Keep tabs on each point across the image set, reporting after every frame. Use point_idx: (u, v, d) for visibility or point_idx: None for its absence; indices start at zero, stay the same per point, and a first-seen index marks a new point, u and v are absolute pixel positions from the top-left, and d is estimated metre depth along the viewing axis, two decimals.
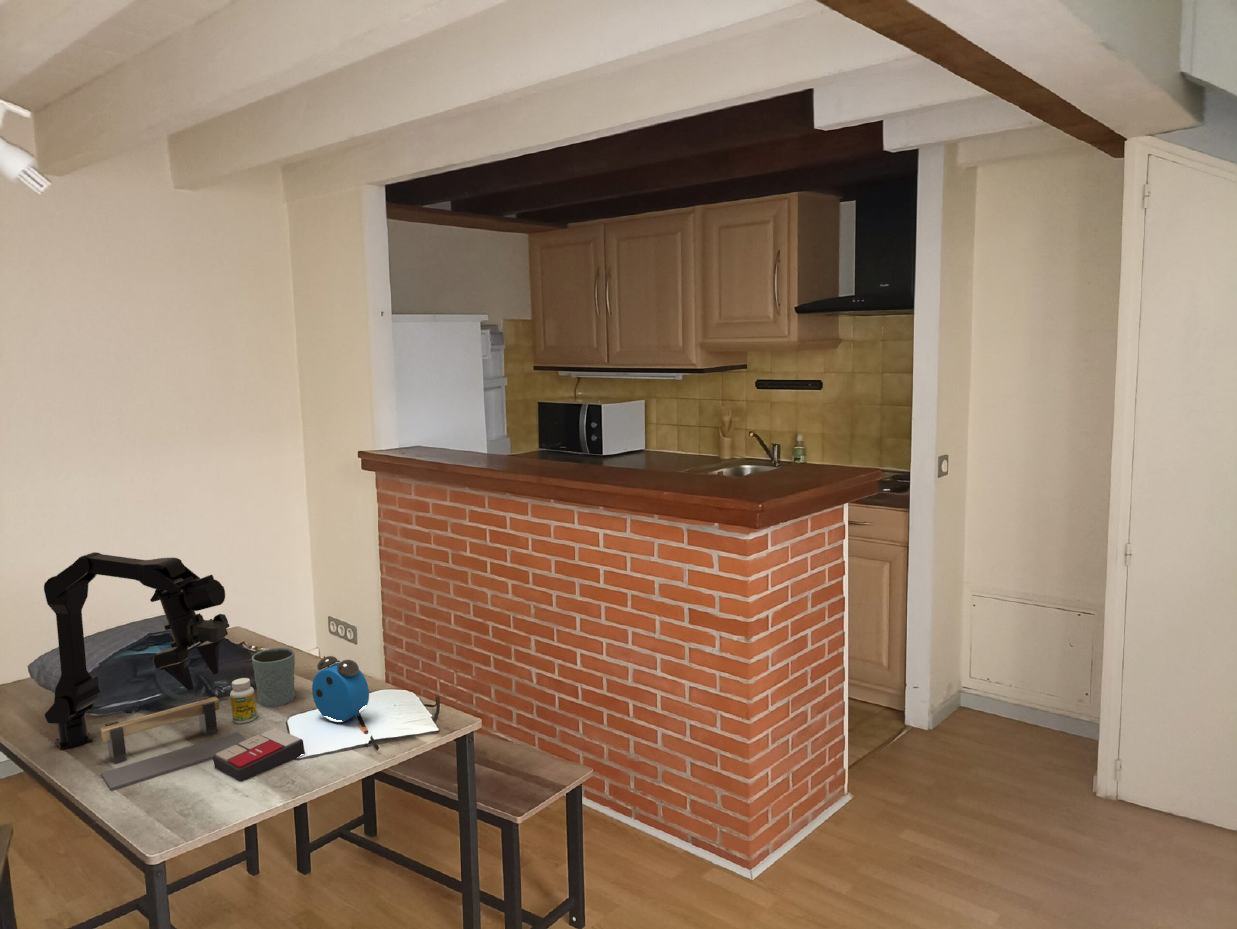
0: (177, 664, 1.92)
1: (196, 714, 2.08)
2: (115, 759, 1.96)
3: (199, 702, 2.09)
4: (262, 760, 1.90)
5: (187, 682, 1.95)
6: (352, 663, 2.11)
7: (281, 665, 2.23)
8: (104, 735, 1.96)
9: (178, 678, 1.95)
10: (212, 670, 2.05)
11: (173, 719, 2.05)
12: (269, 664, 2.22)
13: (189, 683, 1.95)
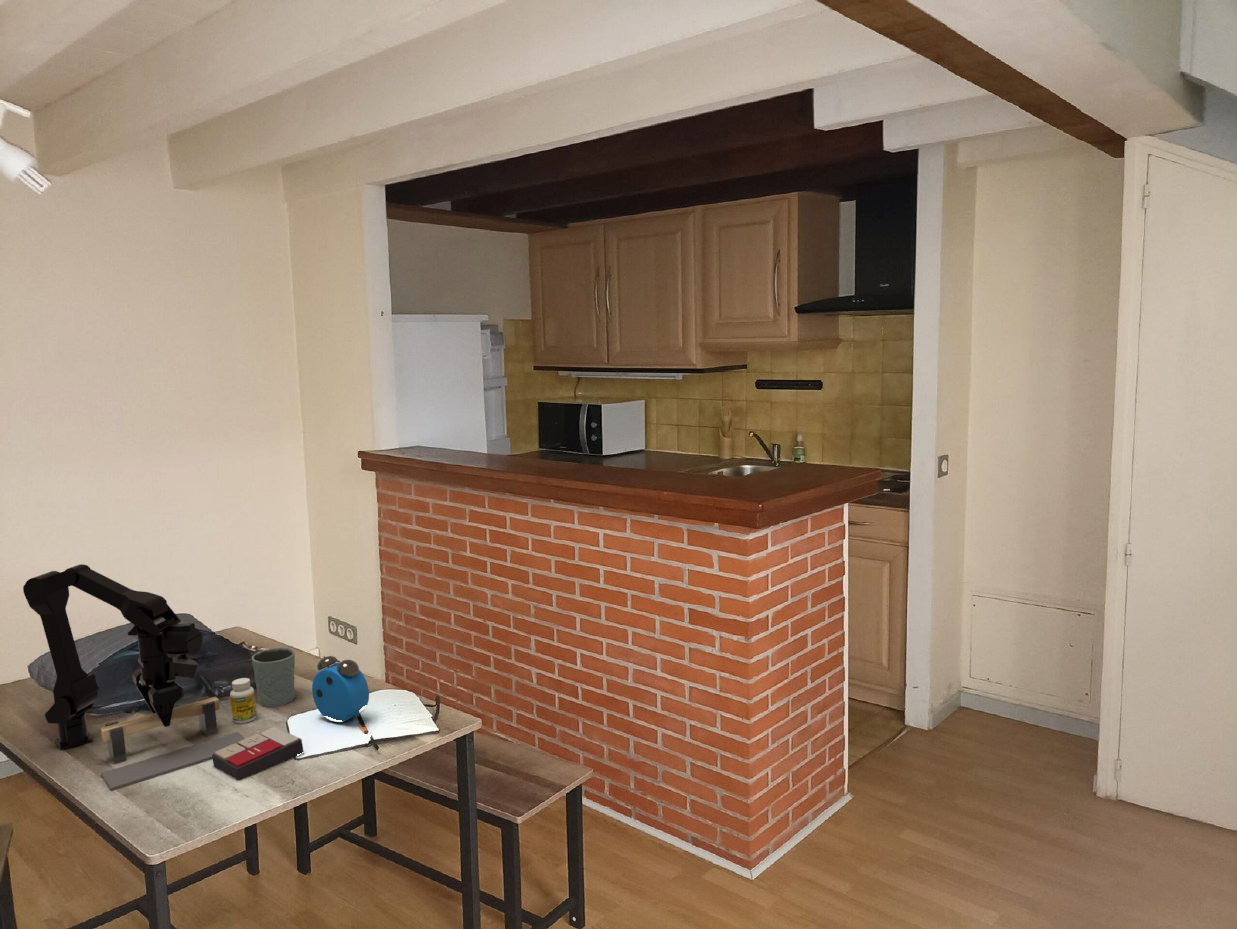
0: (176, 699, 1.98)
1: (196, 714, 2.08)
2: (115, 759, 1.96)
3: (199, 702, 2.09)
4: (260, 759, 1.90)
5: (168, 718, 2.00)
6: (352, 663, 2.11)
7: (282, 665, 2.23)
8: (104, 735, 1.96)
9: (161, 714, 1.99)
10: (153, 710, 2.07)
11: (173, 719, 2.05)
12: (270, 664, 2.22)
13: (170, 719, 2.00)
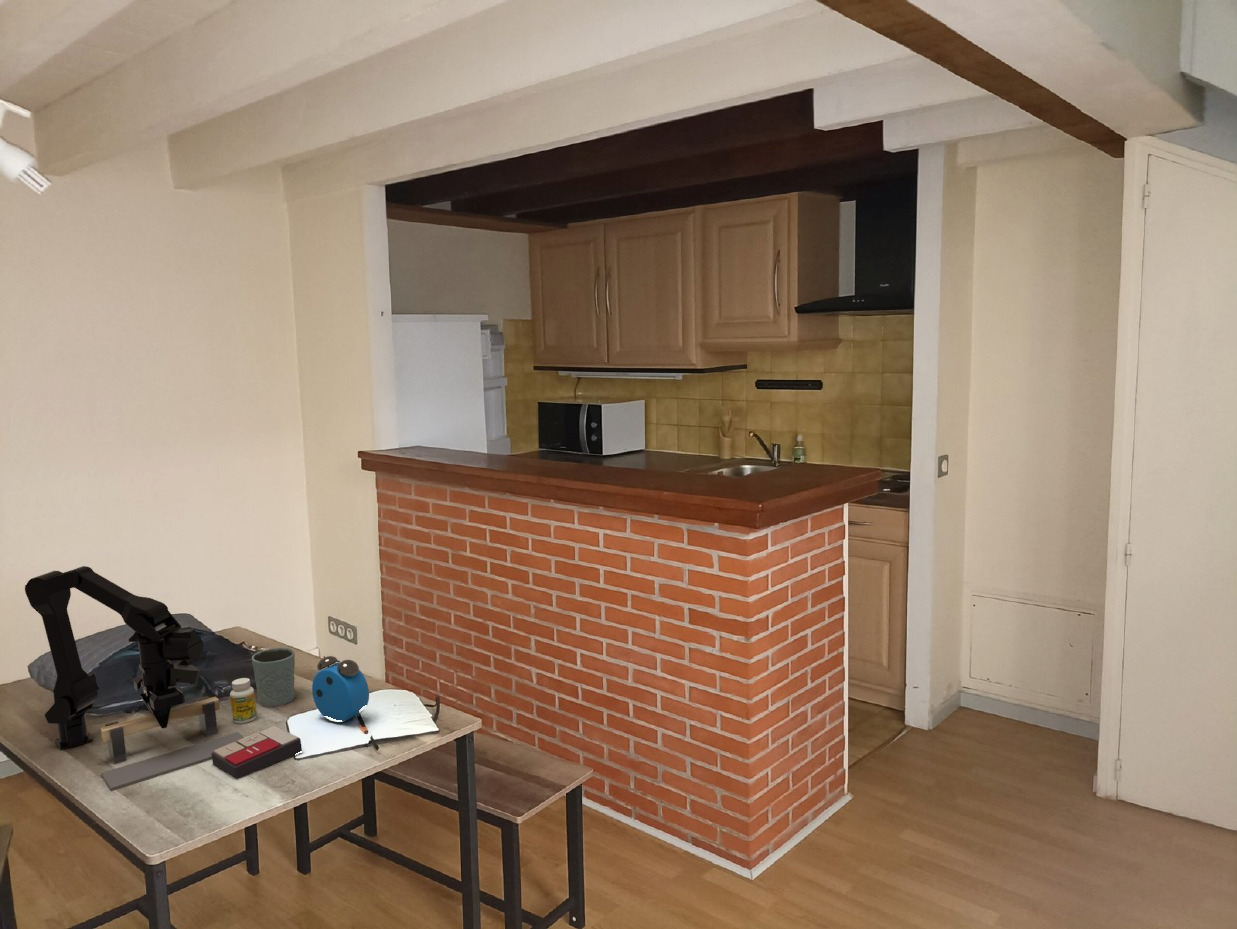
0: None
1: (196, 714, 2.08)
2: (115, 759, 1.96)
3: (199, 702, 2.09)
4: (258, 758, 1.91)
5: (165, 720, 2.03)
6: (352, 663, 2.11)
7: (282, 665, 2.23)
8: (104, 735, 1.96)
9: (158, 716, 2.01)
10: None
11: (173, 719, 2.05)
12: (270, 664, 2.22)
13: (167, 721, 2.03)
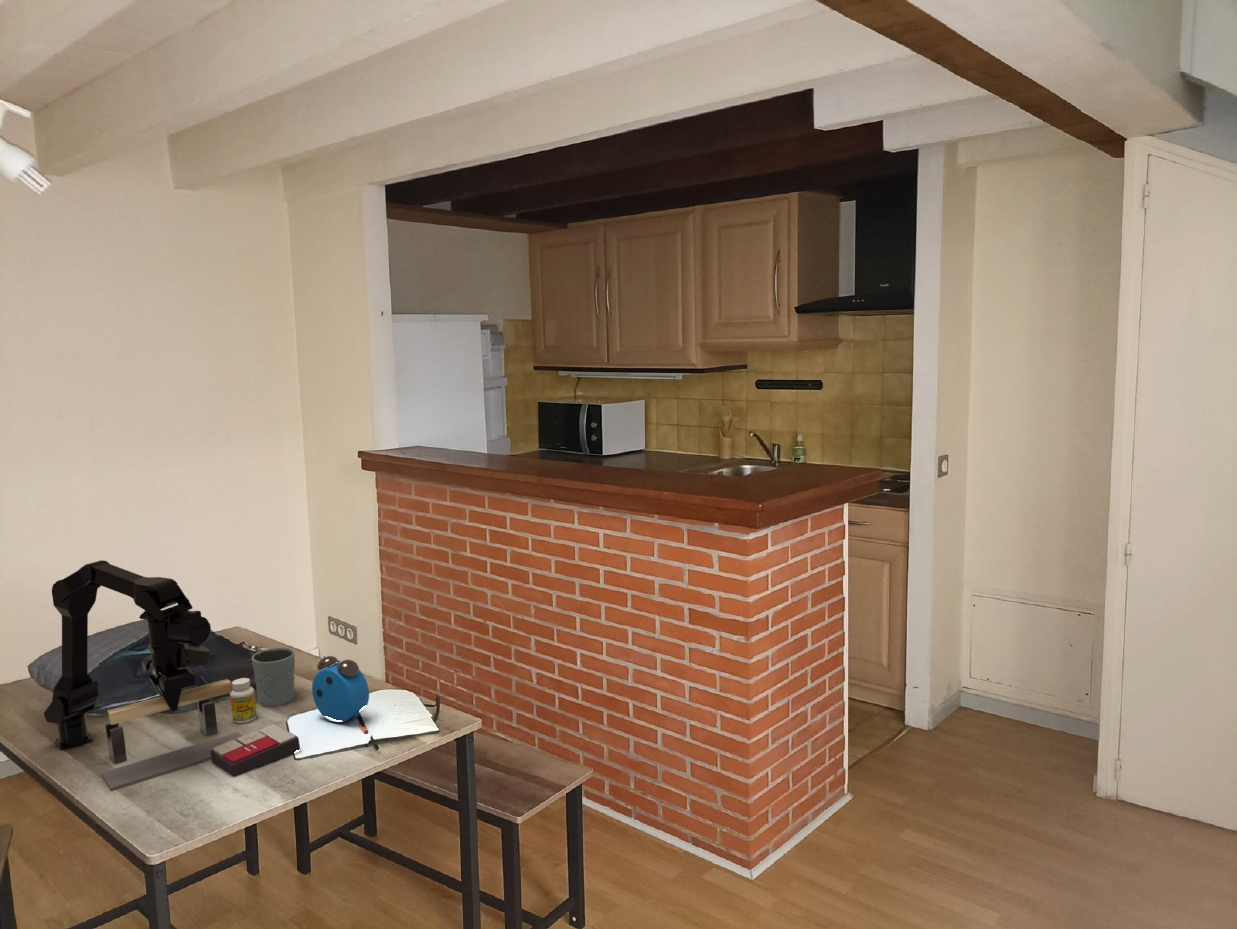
0: None
1: (207, 697, 1.99)
2: (115, 759, 1.96)
3: (211, 684, 2.00)
4: (255, 756, 1.92)
5: (175, 703, 1.93)
6: (352, 663, 2.11)
7: (281, 665, 2.23)
8: (112, 718, 1.86)
9: (168, 699, 1.92)
10: None
11: (184, 702, 1.95)
12: (269, 664, 2.22)
13: (177, 704, 1.94)
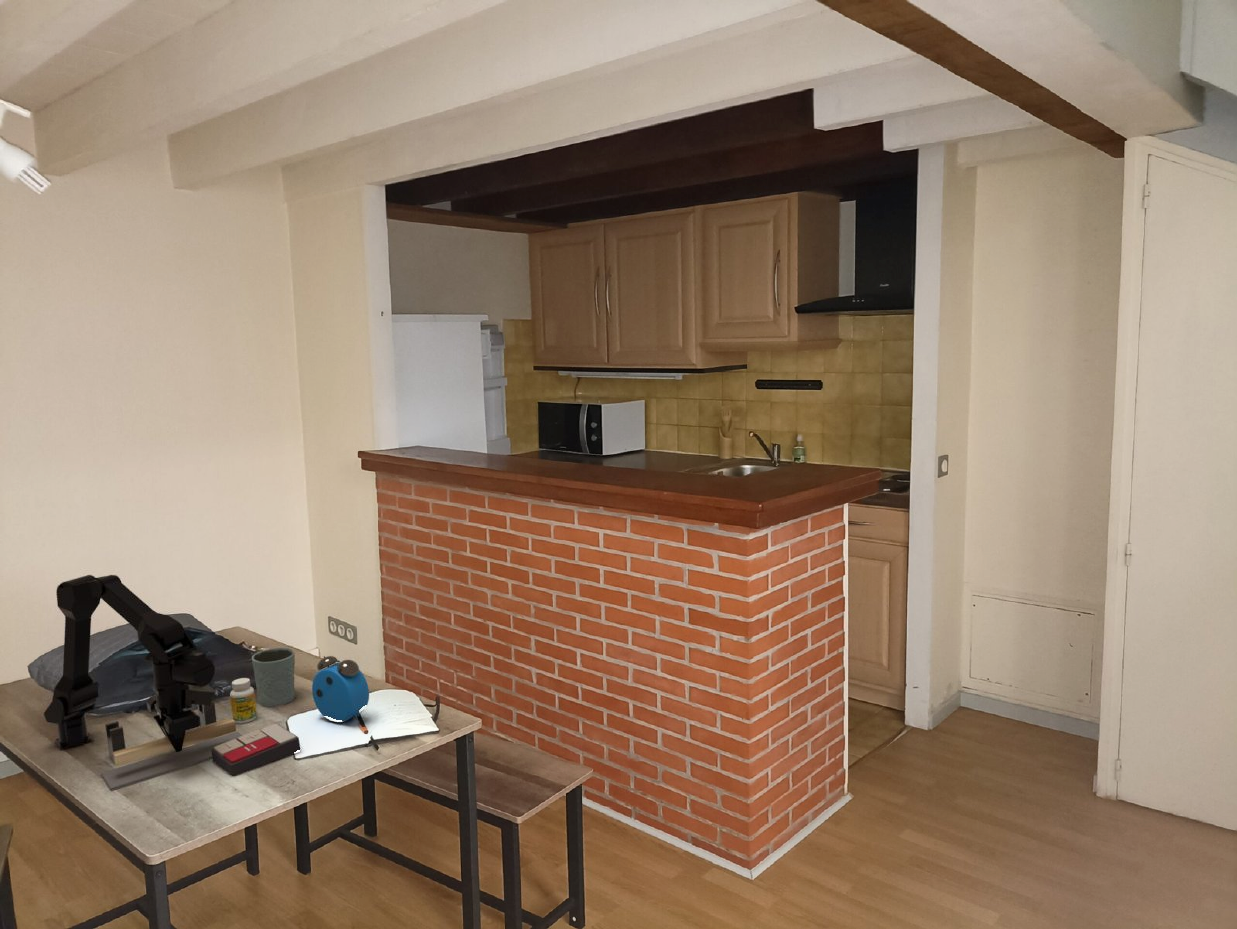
0: None
1: (212, 736, 2.00)
2: None
3: (215, 724, 2.01)
4: (255, 756, 1.92)
5: (180, 743, 1.95)
6: (352, 663, 2.11)
7: (281, 665, 2.23)
8: (117, 760, 1.88)
9: (173, 740, 1.93)
10: None
11: (188, 742, 1.97)
12: (269, 664, 2.22)
13: (181, 744, 1.95)
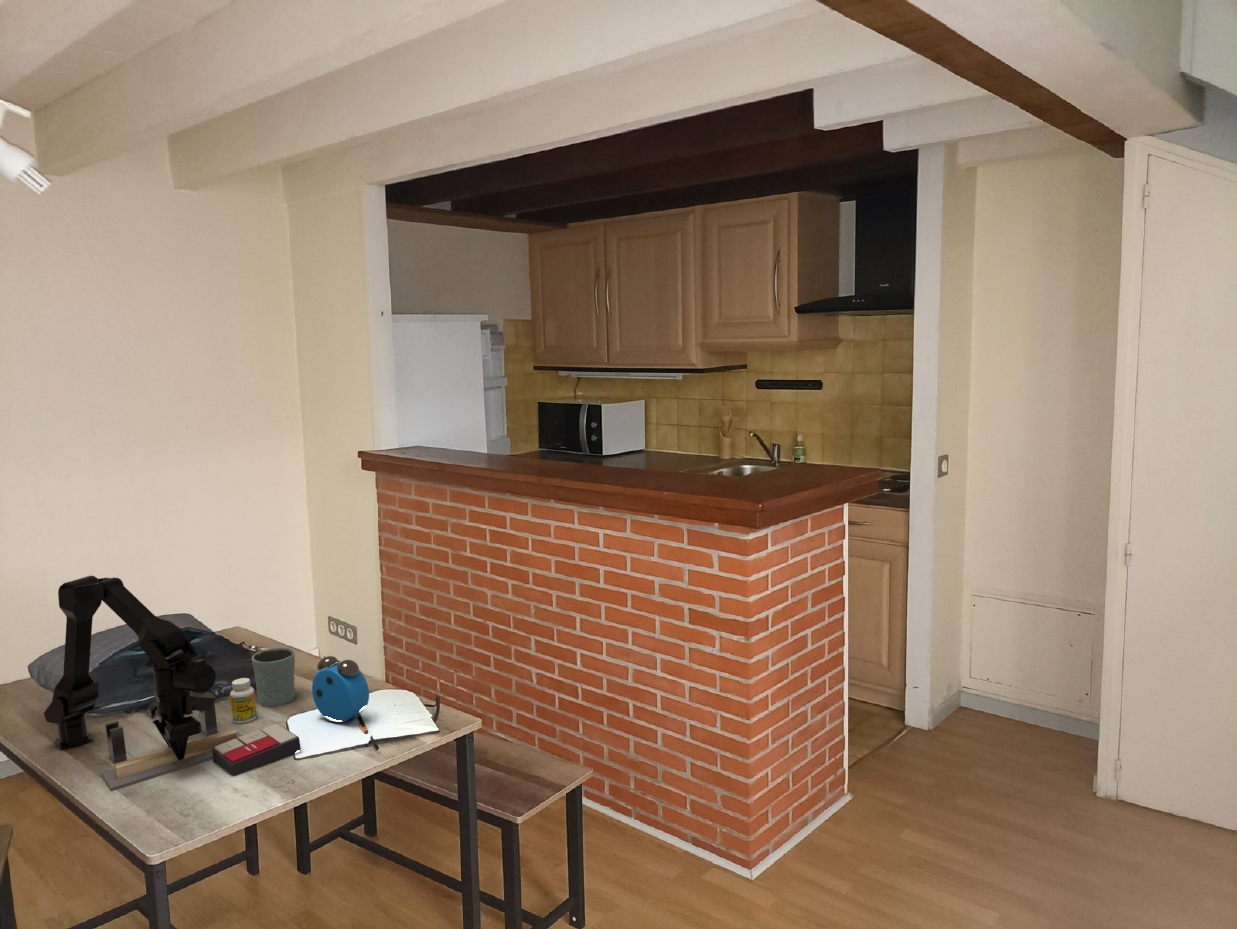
0: None
1: (213, 748, 2.00)
2: (115, 759, 1.96)
3: (216, 735, 2.02)
4: (255, 756, 1.92)
5: (182, 751, 1.94)
6: (352, 663, 2.11)
7: (282, 665, 2.23)
8: (118, 772, 1.88)
9: (175, 748, 1.93)
10: None
11: (189, 753, 1.97)
12: (269, 664, 2.22)
13: (184, 752, 1.94)
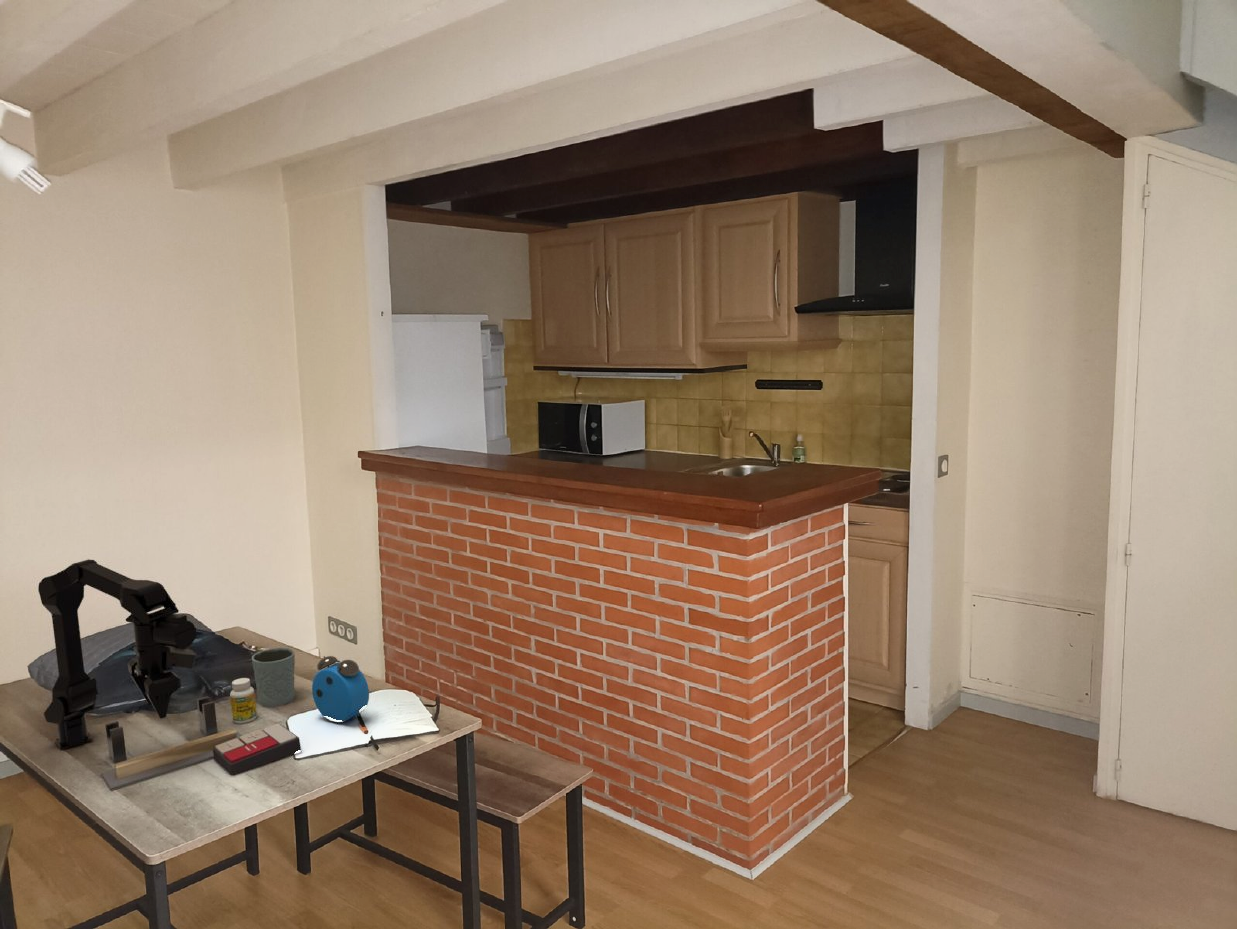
0: (172, 690, 1.91)
1: None
2: (115, 759, 1.96)
3: (216, 735, 2.02)
4: (255, 756, 1.92)
5: (164, 710, 1.93)
6: (352, 663, 2.11)
7: (281, 665, 2.23)
8: (118, 772, 1.88)
9: (157, 706, 1.92)
10: (149, 701, 2.00)
11: (189, 753, 1.97)
12: (269, 664, 2.22)
13: (166, 711, 1.93)
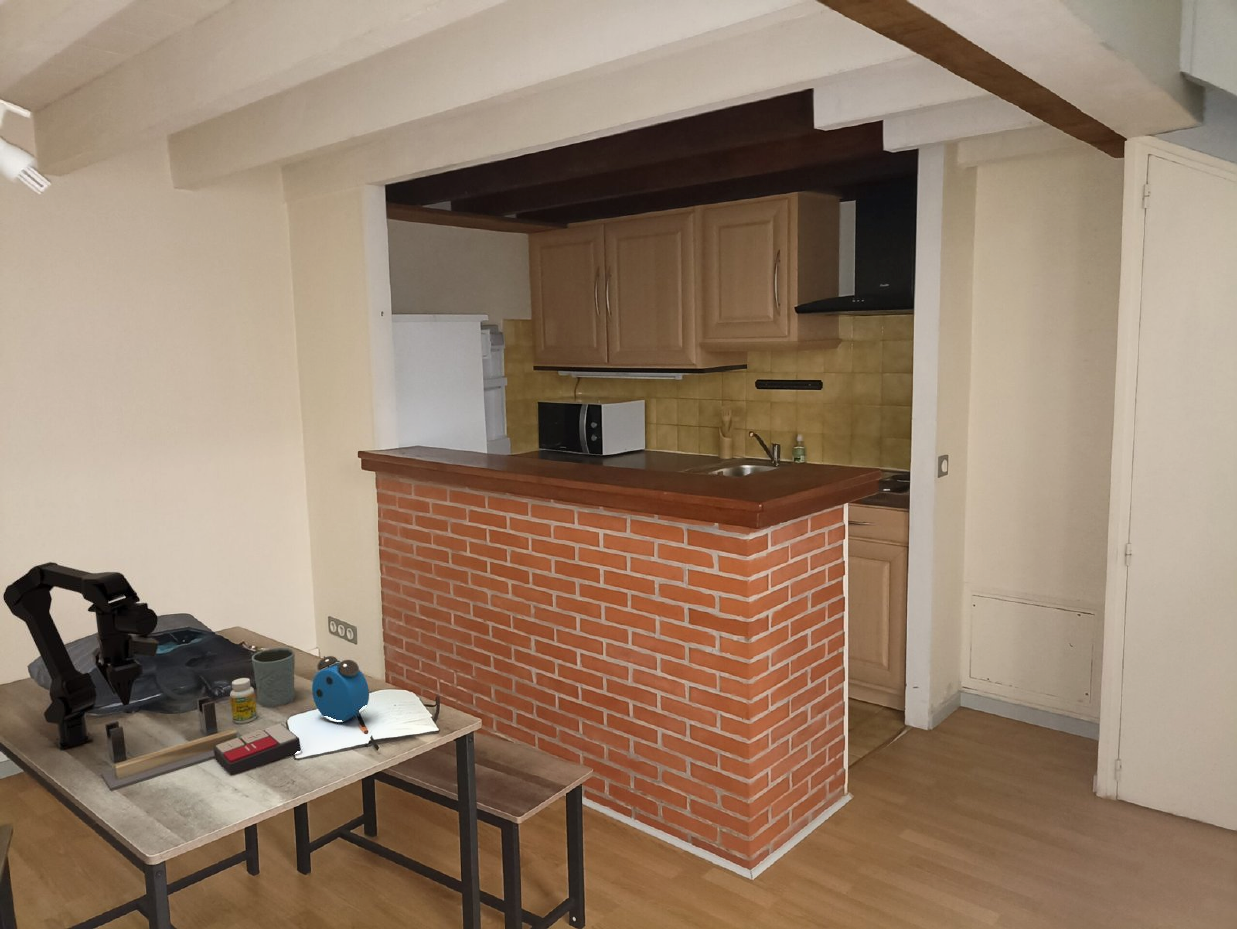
0: (134, 677, 1.95)
1: (213, 748, 2.00)
2: (115, 759, 1.96)
3: (216, 735, 2.02)
4: (254, 756, 1.92)
5: (127, 697, 1.97)
6: (352, 663, 2.11)
7: (281, 665, 2.23)
8: (118, 772, 1.88)
9: (120, 693, 1.96)
10: (113, 689, 2.04)
11: (189, 753, 1.97)
12: (269, 664, 2.22)
13: (129, 698, 1.97)
